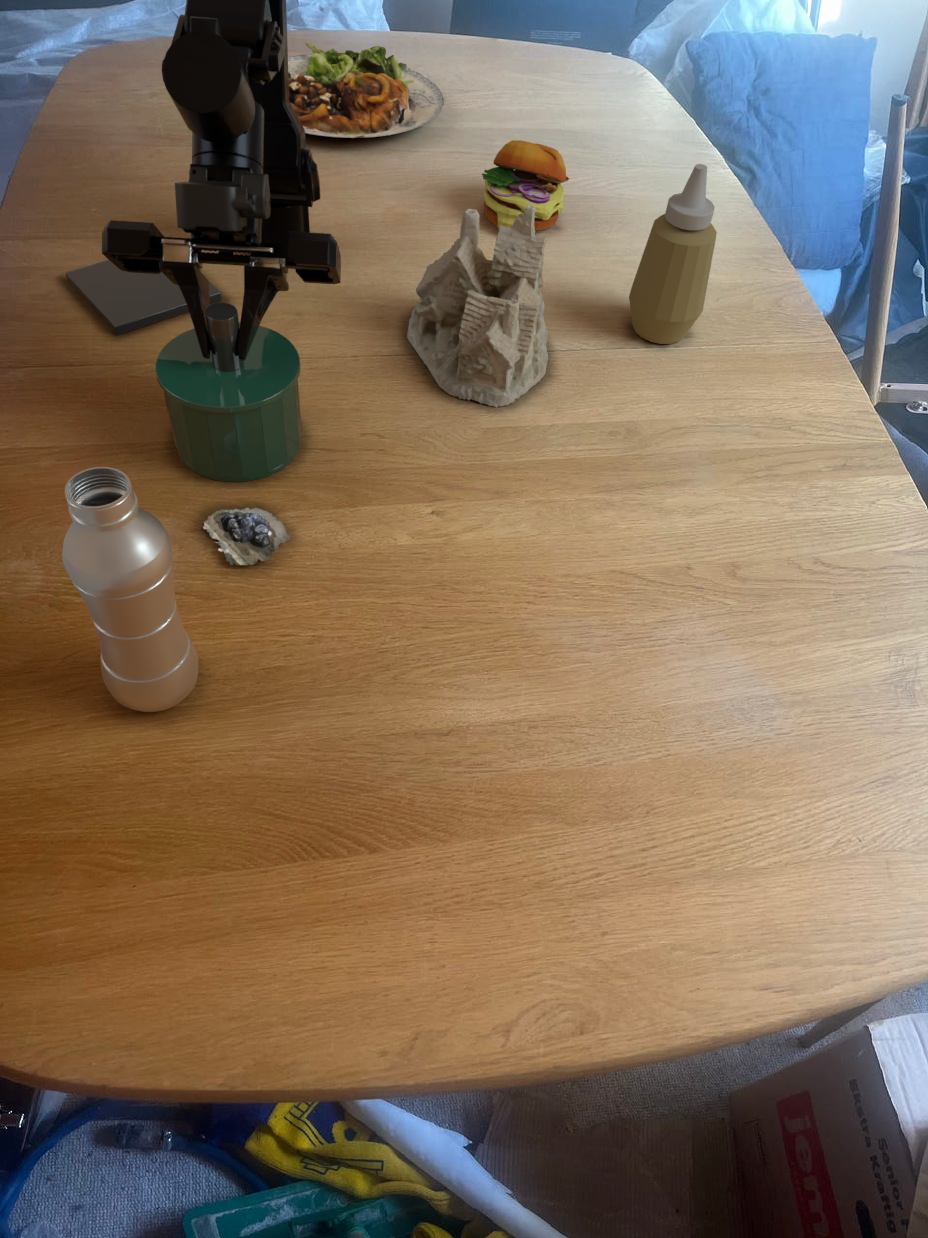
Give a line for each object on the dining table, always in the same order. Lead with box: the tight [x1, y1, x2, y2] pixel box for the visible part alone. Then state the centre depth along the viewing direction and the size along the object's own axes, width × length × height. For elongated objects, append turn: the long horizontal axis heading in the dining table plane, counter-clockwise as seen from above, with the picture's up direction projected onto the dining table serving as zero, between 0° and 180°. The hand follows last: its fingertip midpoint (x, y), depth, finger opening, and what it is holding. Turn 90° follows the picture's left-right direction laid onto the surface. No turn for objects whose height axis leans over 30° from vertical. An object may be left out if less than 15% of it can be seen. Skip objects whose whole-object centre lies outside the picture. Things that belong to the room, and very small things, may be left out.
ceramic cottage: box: [406, 204, 549, 408], centre depth 95 cm, size 16×16×15 cm
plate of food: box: [288, 41, 445, 139], centre depth 133 cm, size 28×28×6 cm
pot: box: [163, 378, 303, 483], centre depth 86 cm, size 11×11×8 cm
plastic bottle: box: [61, 466, 199, 713], centre depth 63 cm, size 6×7×20 cm
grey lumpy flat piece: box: [202, 507, 292, 567], centre depth 81 cm, size 7×8×2 cm
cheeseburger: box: [481, 139, 570, 232], centre depth 117 cm, size 10×11×10 cm
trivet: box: [64, 259, 222, 336], centre depth 103 cm, size 12×12×1 cm
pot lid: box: [154, 302, 301, 413], centre depth 81 cm, size 12×12×6 cm
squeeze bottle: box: [628, 163, 718, 345], centre depth 99 cm, size 8×8×18 cm
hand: (223, 358), depth 81 cm, fingers closed on pot lid, 3 cm apart
